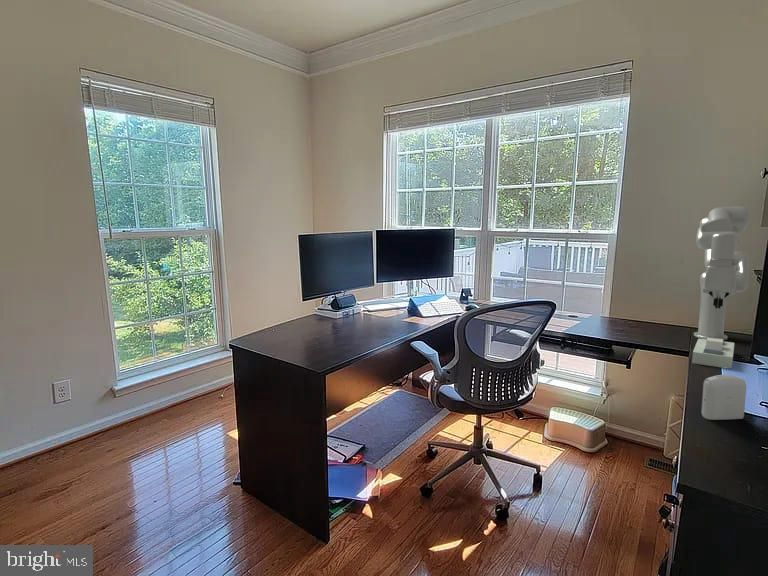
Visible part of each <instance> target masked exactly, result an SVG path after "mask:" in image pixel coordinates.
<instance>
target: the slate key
mask: <svg viewBox="0 0 768 576" xmlns="http://www.w3.org/2000/svg"><path fill="white" fill-rule="evenodd" d="M704 353H710V354H717V355H721V353H722V348H720V347H712V346H706V347H705V352H704Z"/></svg>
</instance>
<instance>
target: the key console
mask: <svg viewBox="0 0 768 576" xmlns="http://www.w3.org/2000/svg"><path fill="white" fill-rule="evenodd" d="M706 342H707V339H702V338H698V339H697V341H696V343H695V346H694V348H693V351H692V360H691V363H692V364H695V365H702V366H703V365H704V366H709V367H717V368H722V367H726V368H725V369H728V368H732V369H733V362H734V353H735V352H734V351H735V342H732V341H724V342H723V347H722V353H721V355H717V354H710V353H704V352H705V347H706Z"/></svg>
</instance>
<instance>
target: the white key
mask: <svg viewBox="0 0 768 576" xmlns="http://www.w3.org/2000/svg"><path fill="white" fill-rule="evenodd" d="M706 340H707V342H706V346H712V347H720V348H722V347H723V339H714V338H707V339H706Z"/></svg>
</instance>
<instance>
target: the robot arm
mask: <svg viewBox="0 0 768 576" xmlns="http://www.w3.org/2000/svg"><path fill="white" fill-rule="evenodd" d="M750 214H751V213H750V210H749V209H748V207H746V206H743V205H741V206H737V205H736V206H735V205H734V206H719V207H714V208H713V209H712V210H710V211H709V213H708V216H706V217H704V218H702V219H700V221H699V227H698V229H697V230H696V231H697V232H696V235H695V237H696V238H695V242H696V243H695V244H696V247H697V248H698V249H699V250H702V251H703V250H704V267H705V269H706V271H704V272H702V273H701V274H700V276H699V285H700V286H699V287H700V300H699V301H700V304H699V314H698V315H699V317H698V327H697V328H698V330H697V331H695V332H693V336H694V337H695V338H698V339H706V340H707V338H709V337H711V338H720V339H724V341H727V340H728V335H726V334H724V332H725V331H724V330H725V322H726V321H725V319H726V310H727V299H726V298H727V297H728V296H734V295H736V294H737V293H743V292H745V291H747V290H748V288H749V281H750V279H749V275H750V274H749V273H750V272H749V256H748V254H747V253H746V252H744V251H738V250H737V251H736V248H737V247H739V245H740V242H741V236H740V235H739V234H741V233H743V232H745V231H746V229H747V226H748V224H749V222H750V218H751V216H750Z"/></svg>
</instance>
